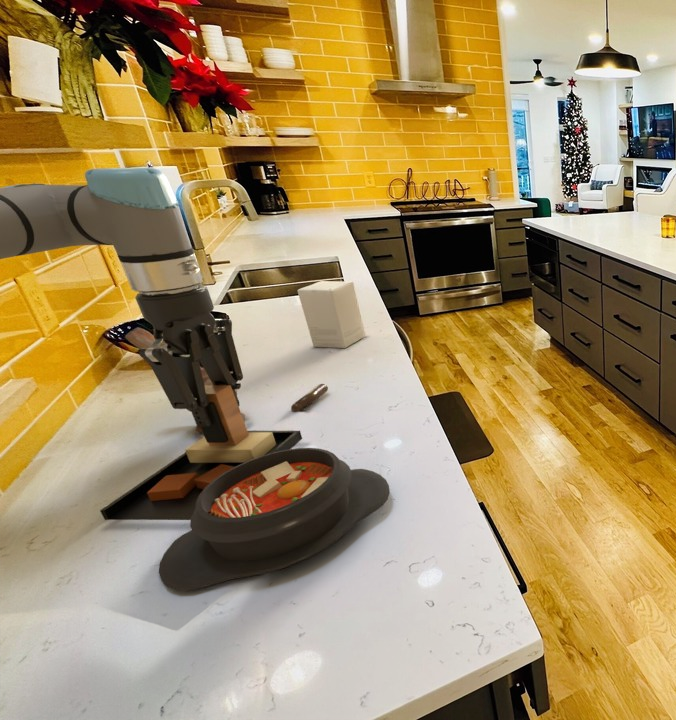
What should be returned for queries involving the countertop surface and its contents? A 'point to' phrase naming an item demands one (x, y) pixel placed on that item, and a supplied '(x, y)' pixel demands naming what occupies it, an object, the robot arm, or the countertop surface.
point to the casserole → (270, 516)
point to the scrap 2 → (211, 475)
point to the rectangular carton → (332, 313)
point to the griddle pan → (137, 499)
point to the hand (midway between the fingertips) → (227, 434)
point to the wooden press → (230, 433)
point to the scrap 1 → (173, 487)
